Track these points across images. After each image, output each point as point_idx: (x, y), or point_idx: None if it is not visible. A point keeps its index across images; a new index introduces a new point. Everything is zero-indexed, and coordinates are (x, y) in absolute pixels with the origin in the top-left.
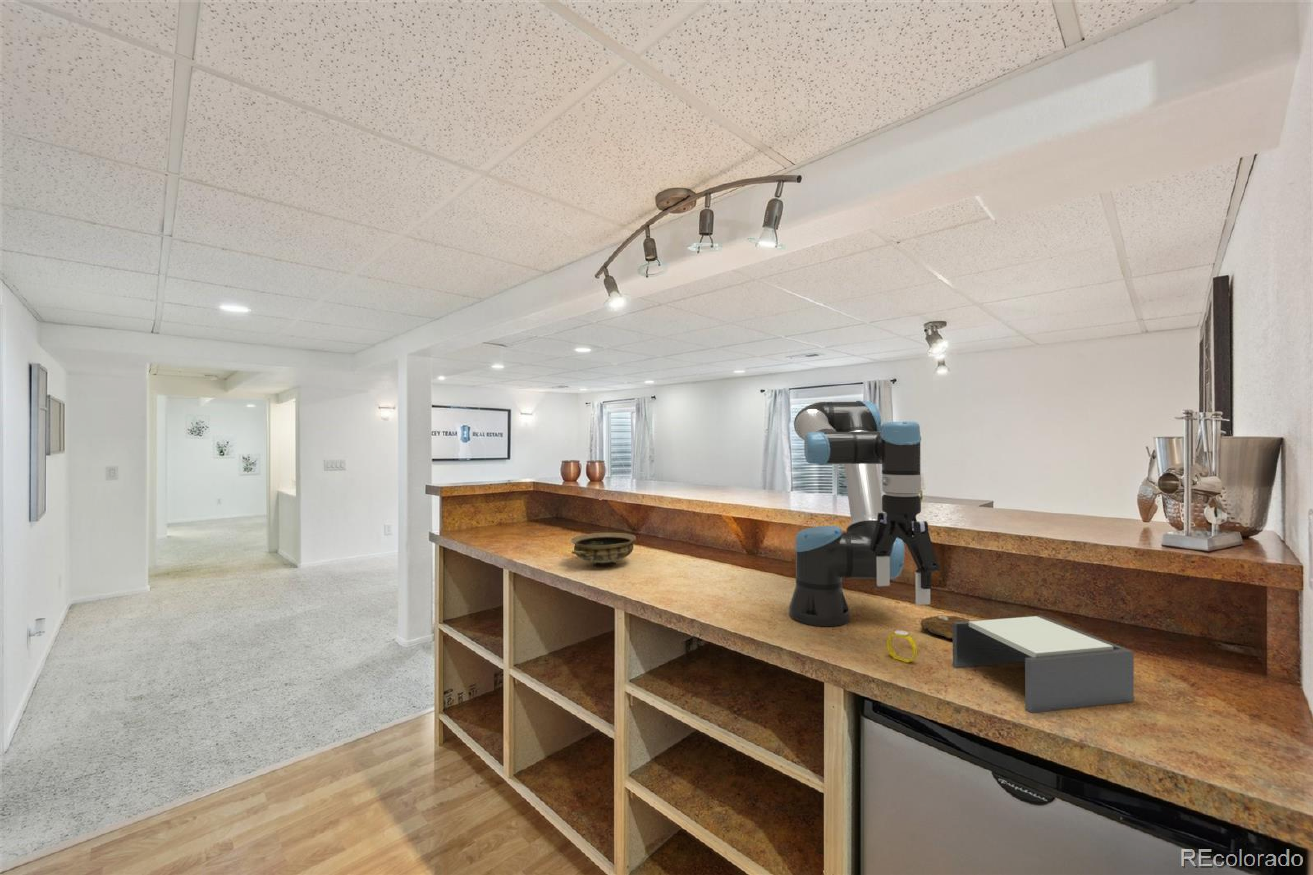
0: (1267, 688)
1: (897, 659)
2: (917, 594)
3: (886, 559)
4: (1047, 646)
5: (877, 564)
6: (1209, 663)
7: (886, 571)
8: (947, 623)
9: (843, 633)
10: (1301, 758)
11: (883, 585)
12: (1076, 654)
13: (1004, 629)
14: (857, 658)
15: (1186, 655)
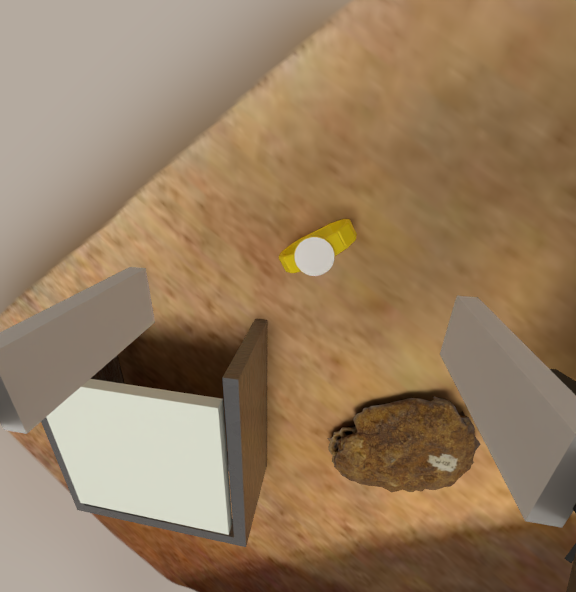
0: (158, 559)
1: (322, 227)
2: (99, 284)
3: (523, 474)
4: (69, 423)
5: (545, 378)
6: (216, 578)
7: (476, 393)
8: (403, 441)
9: (549, 189)
10: (31, 453)
11: (450, 324)
12: (53, 437)
13: (160, 432)
14: (362, 118)
15: (239, 583)
